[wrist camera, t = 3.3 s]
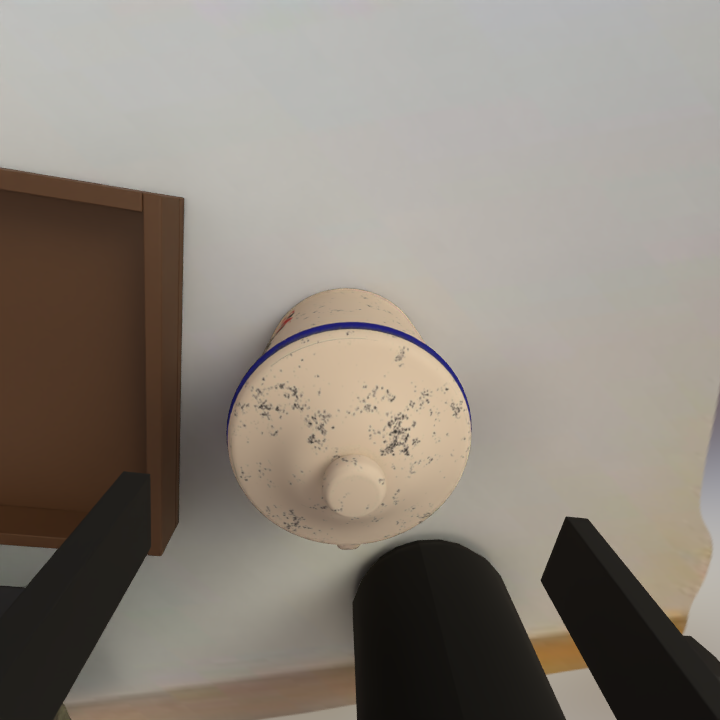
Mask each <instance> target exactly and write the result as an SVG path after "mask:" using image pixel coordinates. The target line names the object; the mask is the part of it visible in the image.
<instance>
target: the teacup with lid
mask: <svg viewBox="0 0 720 720" xmlns="http://www.w3.org/2000/svg"><path fill="white" fill-rule="evenodd" d="M471 430H472V428H471V415H470V408H469V405H468V401H467V397H466V395H465V392H464V390H463V387H462V385H461V384H460V382H459V380H458V378H457V376H456V375H455V374H454V372H453V371H452V369H451V368H450V367H449V365H448V364H447V363H446V362H445V361H444V360H443V358H441V357H440V356H439V355H438V354H437V353H436V352H435V351H434V350H433V349H431V348H430V347H429V346H427V345H426V343H425V342H424V341H423V339H422V338H421V336H420V335H419V333H418V332H417V330H416V329H415V327H414V326H413V325H412V323H411V322H410V320H409V319H408V318H407V316H406V315H405V314H404V313H403V312H402V311H401V310H400V309H399V308H398V307H397V306H395V305H394V304H393V303H391V302H390V301H388V300H386V299H385V298H383V297H381V296H379V295H376V294H374V293H371V292H368V291H364V290H358V289H348V288H344V289H333V290H328V291H324V292H320V293H318V294H315V295H313V296H310V297H308V298H306V299H305V300H303V301H301V302H300V303H299V304H297V305H296V306H294V307H293V308H292V309H291V310H290V311H289V312H288V313H287V314H286V315H285V316H284V317H283V319H282V320H281V321H280V323H279V324H278V326H277V328H276V330H275V331H274V333H273V335H272V337H271V339H270V341H269V343H268V345H267V347H266V349H265V351H264V353H263V355H262V356H261V357H260V358H259V359H258V360H257V361H256V362H255V364H254V365H253V366H252V367H251V368H250V369H249V371H248V372H247V373H246V375H245V376H244V378H243V379H242V381H241V383H240V384H239V386H238V388H237V390H236V392H235V395H234V397H233V399H232V403H231V406H230V409H229V414H228V419H227V431H226V435H227V447H228V453H229V458H230V462H231V466H232V469H233V472H234V474H235V477H236V479H237V481H238V483H239V485H240V487H241V489H242V490H243V492H244V493H245V495H246V496H247V498H248V499H249V500H250V501H251V502H252V504H253V505H254V506H255V507H256V508H257V509H258V510H259V511H260V512H261V513H262V514H263V515H264V516H265V517H267V518H268V519H269V520H270V521H272V522H273V523H275V524H276V525H278V526H279V527H281V528H283V529H285V530H286V531H288V532H290V533H293V534H295V535H297V536H300V537H303V538H306V539H309V540H313V541H317V542H321V543H327V544H336V545H337V546H338V547H339V548H340V549H344V550H347V549H356V548H358V547H359V546H360V544H366V543H372V542H377V541H381V540H384V539H388V538H391V537H394V536H396V535H399V534H401V533H403V532H405V531H407V530H409V529H411V528H413V527H415V526H416V525H418V524H420V523H421V522H423V521H424V520H425V519H427V518H428V517H429V516H431V515H432V514H433V513H434V512H435V511H436V510H437V509H438V508H439V507H440V506H441V505H442V504H443V503H444V502H445V501H446V500H447V498H448V497H449V496H450V495H451V493H452V492H453V490H454V488H455V487H456V485H457V484H458V482H459V480H460V478H461V476H462V474H463V471H464V469H465V466H466V463H467V460H468V456H469V451H470V446H471Z"/></svg>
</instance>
